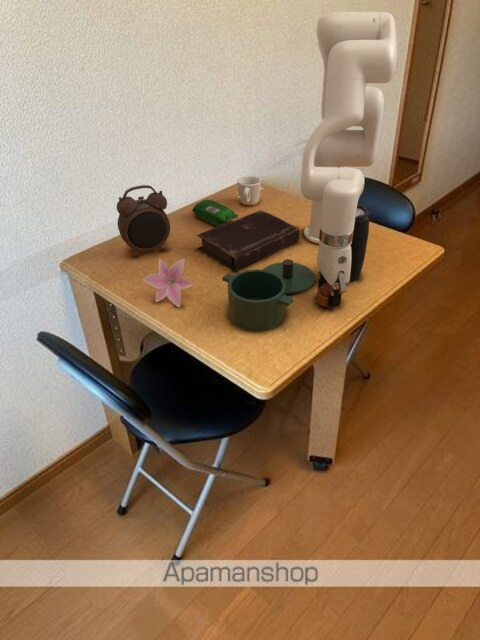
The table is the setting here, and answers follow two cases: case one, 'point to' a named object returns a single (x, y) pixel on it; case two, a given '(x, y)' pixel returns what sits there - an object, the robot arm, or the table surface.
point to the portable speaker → (359, 241)
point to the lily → (169, 281)
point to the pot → (256, 299)
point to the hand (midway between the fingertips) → (328, 297)
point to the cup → (249, 189)
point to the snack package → (214, 212)
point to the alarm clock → (143, 221)
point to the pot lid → (293, 275)
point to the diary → (248, 239)
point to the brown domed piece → (324, 294)
